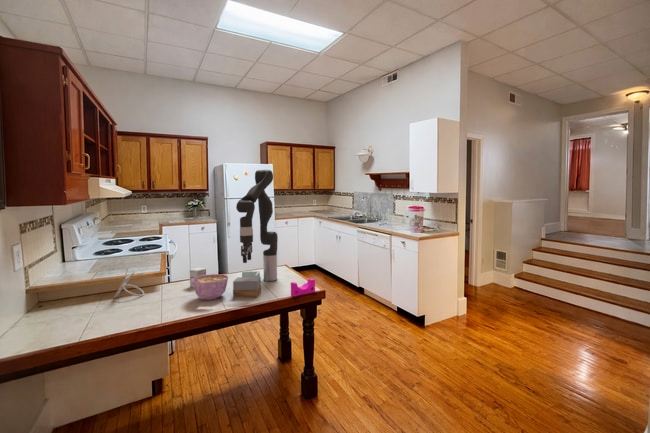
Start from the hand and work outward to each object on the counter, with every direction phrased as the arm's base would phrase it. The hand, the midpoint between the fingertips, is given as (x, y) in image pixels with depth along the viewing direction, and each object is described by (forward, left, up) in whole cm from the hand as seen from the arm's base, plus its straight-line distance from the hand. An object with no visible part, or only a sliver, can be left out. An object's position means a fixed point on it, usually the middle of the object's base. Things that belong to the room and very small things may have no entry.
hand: (247, 261), depth 182 cm
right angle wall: (-24, -6, -21) cm, 32 cm away
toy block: (-5, +32, -21) cm, 39 cm away
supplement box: (-14, -37, -20) cm, 45 cm away
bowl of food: (+6, -20, -20) cm, 29 cm away
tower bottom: (0, 0, -21) cm, 21 cm away
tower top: (+1, 0, -16) cm, 16 cm away
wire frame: (+6, -72, -23) cm, 76 cm away
